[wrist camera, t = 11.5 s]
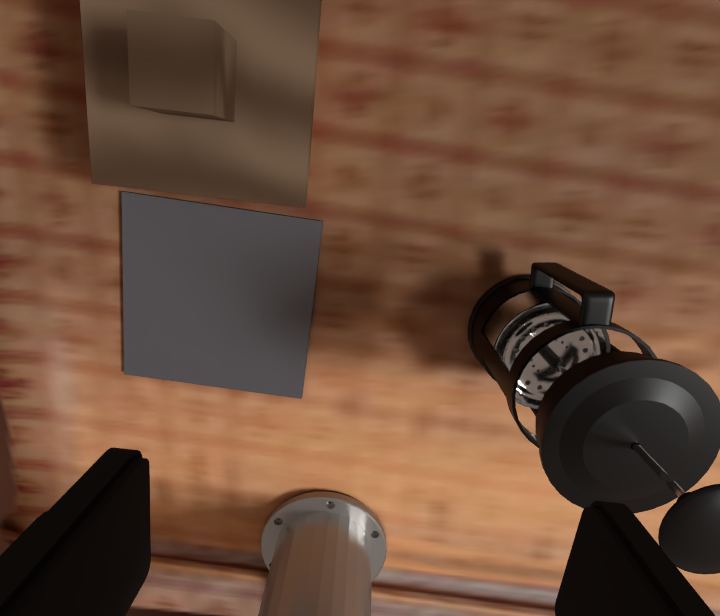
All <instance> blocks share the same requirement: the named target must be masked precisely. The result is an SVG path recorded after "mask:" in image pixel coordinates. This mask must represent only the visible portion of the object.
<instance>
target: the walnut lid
mask: <svg viewBox="0 0 720 616" xmlns="http://www.w3.org/2000/svg"><path fill="white" fill-rule="evenodd" d="M321 2H322V0H80V13H81V28H82V43H83V58H84V73H85V88H86V103H87V118H88V134H89V149H90V164H91V179H92V184H101V185H110V186H118V187H127V188H136V189H144V190H153V191H162V192H170V193H179V194H188V195H196V196H205V197H214V198H222V199H231V200H240V201H248V202H257V203H266V204H274V205H283V206H292V207H300V208H306V205H307V192H308V178H309V165H310V151H311V138H312V124H313V111H314V97H315V83H316V70H317V56H318V43H319V29H320V16H321Z"/></svg>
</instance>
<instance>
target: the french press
mask: <svg viewBox="0 0 720 616" xmlns="http://www.w3.org/2000/svg"><path fill="white" fill-rule="evenodd" d="M554 279H555V280H556V281H558V282H559V283H561V284H563V285H564V286H566V287H568V288H569V289H571V290H573V291H574V292H576V293H578V294H579V295H580V296H581V297H582V303H581V302H580V301H579V300H577V299H576V298H575V297H574V296H572V295H571V294H570V293H569V292H568V291H567V290H566V289H565V288H564V287H563V286H562V285H560V284H558V283H557V282H555V281H554ZM528 291H531V292H533V293H535V294H536V295H537V296H539V297H540V298H541V299H543V300H544V301H545V302H546V303H542V304H538V305H535V306H533V307H530V308H528V309H527V310H525V311H523V312H521V313H520V314H518V315H517V316H516V317H514V318H513V319H512V320H511V321H510V322H509V323H508V324H507V325H506V326H505V327H504V329H503V330H502V332H501V333H500V334H499V336H498V338H497V340H496V343H495V346H494V347H493V346H492V344H491V343H490V341H489V340H488V338H487V337H486V336H485V334H484V329H485V327H486V324H487V322H488V321H489V319H490V317H491V316H492V314H493V313H494V312H495V311H496V310H497V309H498V308H499V307H500V306H501V305H502V304H503V303H505V302H506V301H508V300H509V299H510V298H512V297H515V296H517V295H519V294H521V293H525V292H528ZM614 300H615V294H614V292H612V291H611V290H609V289H607V288H605V287H603V286H601V285H599V284H597V283H595V282H593V281H591V280H589V279H587V278H585V277H583V276H581V275H579V274H577V273H576V272H574V271H572V270H570V269H568V268H566V267H564V266H562V265H560V264H558V263H533V264H532V267H531V275H522V276H515V277H512V278H509V279H505V280H503V281H501V282H499V283H497V284H496V285H494V286H493V287H492V288H490V289H489V290H488V291H486V292H485V294H484V295H483V296H482V297H481V298H480V299H479V300H478V302H477V304H476V305H475V307H474V308H473V311H472V314H471V316H470V319H469V325H468V339H469V343H470V347H471V349H472V351H473V353H474V355H475V357H476V359H477V360H478V361H479V362H480V363H481V365H482V366H484V368H485V369H486V371H487V372H488V373H489V375H490V376H491V377H492V378H493V379H494V380H495V381H496V382H497V383H498V384H499V386H500V388H501V390H502V391H503V393H504V395H505V396H506V399H507V403H508V407H509V410H510V412H511V414H512V416H513V418H514V420H515V422H516V423H517V425H518V427H519V429H520V430H521V432H522V433H523V434H524V435H525V436H526V438H527V439H528V440H529V441H530V442H532V443H533V444H534V445H535V446H537V447H538V448H539V454H540V458H541V463H542V467H543V469H544V471H545V473H546V475H547V477H548V479H549V481H550V482H551V484H552V485H553V486H554V487H555V489H556V490H557V491H558V492H559V493H560V494H561V495H562V496H563V497H565V498H566V499H567V500H569V501H570V502H571V503H573V504H575V505H578V506H580V507H582V508H586V507H590V506H591V504H592V503H593V502H594V501H606V502H615V503H622V504H625V505H626V506H627V507H628V508H629V509H630V510H631V511H632V512H633V514H634V513H638V512H643V511H647V510H651V509H654V508H656V507H659V506H662V505H664V504H667V503H669V502H670V501H672V500H674V499H676V498H677V497H678V499H677V502H676V503H675V504H674V505H673V506H672V507H671V508H670V509H669V510H668V511H667V513H666V515H665V516H664V518H663V520H662V522H661V525H660V528H659V535H658V540H659V546H660V547H661V549H662V550H663V551H664V552H665V554H666V555H667V556H668V557H669V559H670V560H671V561H672V562H673V564H674V565H675V566H676V567H678V568H680V569H682V570H684V571H688V572H691V573H696V574H716V573H720V484H714V485H710V486H706V487H703V488H700V489H697V490H695V491H693V492H687V493H686V491H688V490H689V489H690V488H691V487H693V486H694V485H695V484H696V483H697V482H698V481H699V480H700V479H701V478H702V477H703V476H704V474H705V473H706V472H707V471H708V470H709V468H710V466H711V465H712V463H713V462H714V460H715V458H716V457H717V454H718V451H719V449H720V402H719V399H718V397H717V396H716V394H715V393H714V391H713V390H712V388H711V387H710V385H709V384H708V383H707V382H705V381H704V380H703V379H702V378H701V377H700V376H699V375H698V374H696V373H694V372H693V371H691V370H689V369H687V368H685V367H683V366H682V365H680V364H677V363H674V362H670V361H667V360H663V359H657V357H656V355H655V354H654V353H653V351H652V350H651V348H650V347H649V346H648V345H647V344H646V343H645V342H644V341H642V340H641V339H640V338H639V337H637V336H636V335H634V334H633V333H631V332H629V331H628V330H626V329H624V328H622V327H621V326H619V325H617V324H615V323H612V322H611V318H612V312H613V306H614ZM606 329H609V330H614V331H618V332H621V333H624V334H627V335H628V336H630V337H631V338H632V339H633V340H634V341H635V342H636V344H637V345H638V347H639V348H640V349H641V351H642V354H640V353H635V352H624V351H620V350H618V349H617V348H616V347H614V346H613V345H612V344H610V340H609V336H608V333H607V331H606ZM515 402H517V403H519V404H521V405H523V406H527V407H530V408H531V410H532V411H533V413H534V414H535V416H536V435H534V434H532V433H531V432H530V431H529V430H527V429H526V428H525V427H524V426H523V425H522V424H521V423H520V421H519V420H518V416H517V412H516V408H515Z"/></svg>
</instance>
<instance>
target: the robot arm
mask: <svg viewBox="0 0 720 616" xmlns="http://www.w3.org/2000/svg"><path fill="white" fill-rule="evenodd" d="M386 550H387V546H386V535H385V532H384V528H383V526H382V524H381V522H380V521H379V519H378V517H377V516H376V515H375V514H374V513H373V512H372V510H370V509H369V508H368V507H367V506H365V505H364V504H363V503H361V502H359V501H357V500H356V499H354V498H352V497H349V496H346V495H343V494H339V493H334V492H310V493H304V494H301V495H298V496H295V497H292V498H290V499H289V500H287V501H285V502H283V503H282V504H281V505H279V506H278V507H277V508H276V509H275V510H274V511H273V512H272V514H271V515H270V516H269V518H268V520H267V522H266V524H265V526H264V529H263V533H262V536H261V553H262V557H263V560H264V562H265V565H266V566H267V568H268V569H269V574H268V578H267V582H266V586H265V590H264V594H263V598H262V602H261V606H260V610H259V614H258V616H371V582H372V581H373V580H374V578H375V577H376V576H377V575H378V574H379V572H380V571H381V569H382V567H383V565H384V562H385V559H386ZM150 561H151V547H150V475H149V461H148V459H146V458H142V454H141V452H140V451H138V450H130V449H121V448H110V449H108V450H107V451H106V452H105V453H104V454H103V455H102V456H101V457H100V458H99V459H98V460H97V461H96V462H95V463H94V464H93V465H92V466H91V467H90V468H89V469H88V470H87V471H86V473H85V474H84V475H83V476H82V477H81V478H80V479H79V480H78V481H77V482H76V483H75V484H74V485H73V486H72V487H71V488H70V489H69V490H68V491H67V492H66V493H65V494H64V495H63V496H62V497H61V498H60V499H59V500H58V501H57V502H56V503H55V504H54V505H53V507H52V508H51V509H50V510H49V511H47V512H45V513H43V514H42V515H41V516H39V517H38V518H37V519H36V520H35V521H34V522H33V523H32V524H31V525H30V526H29V527H28V528H27V529H26V530H25V531H24V532H23V533H22V534H21V535H20V536H19V537H18V538H17V539H16V540H15V541H14V542H13V543H12V544H11V545H10V546H9V547H8V548H7V549H6V550H5V552H4V553H3V554H2V555H1V556H0V616H125V615H126V613H127V612H128V610H129V608H130V606H131V604H132V603H133V601H134V599H135V597H136V596H137V594H138V592H139V590H140V588H141V587H142V585H143V583H144V581H145V579H146V577H147V574H148V571H149V568H150ZM555 615H556V616H715V615H714V613H713V612H712V611H711V610H710V608H709V607H708V606H707V605H706V603H705V602H704V601H703V600H702V598H701V597H700V596H699V595H698V593H697V592H696V591H695V590H694V588H693V587H692V586H691V585H690V583H689V582H688V581H687V580H686V579H685V577H684V576H683V575H682V574H681V572H680V571H679V570H678V569H677V567H676V566H675V565H674V564H673V562H672V561H671V560H670V559H669V557H668V556H667V555H666V554H665V552H664V551H663V550H662V549H661V547H660V546H659V545H658V544H657V542H656V541H655V540H654V539H653V537H652V536H651V535H650V534H649V532H648V531H647V530H646V529H645V527H644V526H643V525H642V524H641V522H640V521H639V520H638V519H637V517H636V516H635V515H634V514H633V512H632V511H631V510H630V509H629V508H628V507H627V506H626V505H625V504H622V503H615V502H606V501H594V502H593V503H592V504H591V506H590V507H586V508H584V510H583V512H582V515H581V519H580V522H579V525H578V529H577V532H576V535H575V539H574V542H573V546H572V549H571V552H570V556H569V559H568V562H567V566H566V569H565V572H564V576H563V579H562V582H561V586H560V589H559V593H558V596H557V599H556V603H555Z"/></svg>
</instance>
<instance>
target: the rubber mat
mask: <svg viewBox="0 0 720 616" xmlns="http://www.w3.org/2000/svg"><path fill="white" fill-rule="evenodd" d="M322 225H323V221H319V220H313V219H306V218H299V217H292V216H286V215H279V214H272V213H266V212H259V211H252V210H245V209H239V208H232V207H225V206H219V205H212V204H205V203H198V202H192V201H185V200H178V199H172V198H165V197H158V196H151V195H145V194H138V193H131V192H125V191H124V192H122V256H123V326H124V374H127V375H134V376H142V377H149V378H156V379H163V380H170V381H178V382H185V383H192V384H199V385H206V386H213V387H221V388H228V389H235V390H242V391H249V392H256V393H264V394H271V395H278V396H285V397H292V398H300V399H302V394H303V385H304V377H305V368H306V360H307V352H308V343H309V335H310V326H311V318H312V309H313V301H314V293H315V284H316V276H317V267H318V259H319V251H320V242H321V234H322Z"/></svg>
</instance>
